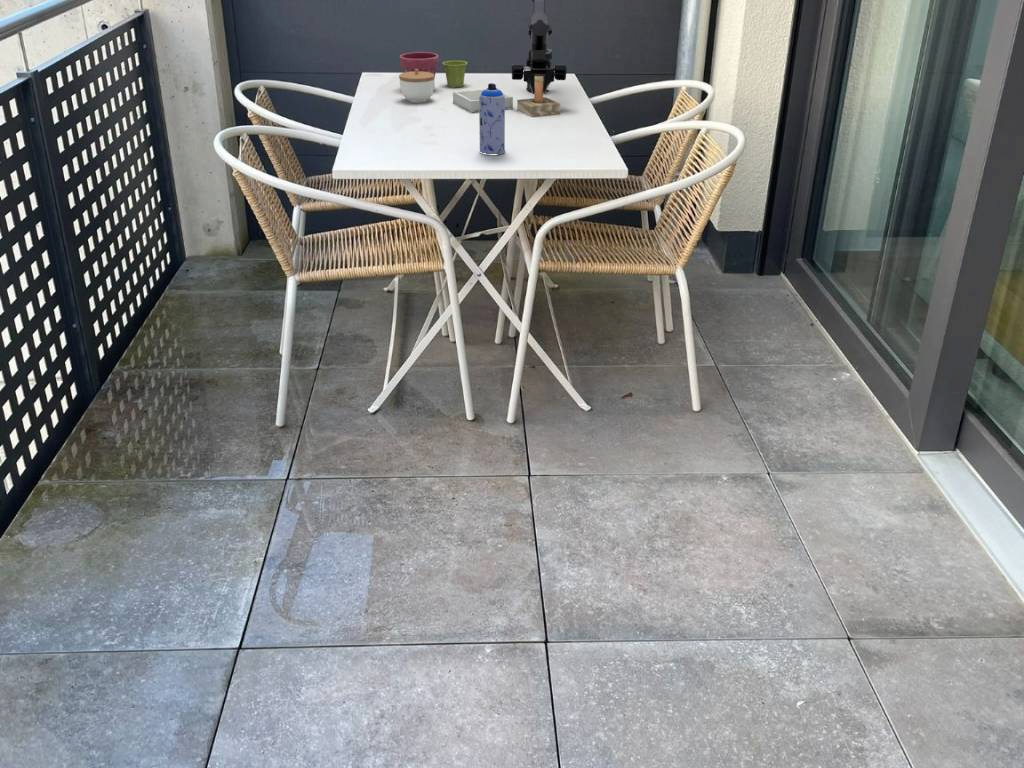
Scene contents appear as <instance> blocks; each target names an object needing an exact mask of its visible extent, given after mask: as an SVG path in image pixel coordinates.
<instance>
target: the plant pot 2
mask: <svg viewBox="0 0 1024 768" xmlns="http://www.w3.org/2000/svg"><path fill="white" fill-rule="evenodd" d="M442 65H443V68H444V72H445V79H446V84H447V86H448V87H449V88H462V87H464V84H465V74H466V68H467V65H468V61H464V60H448V61H443V62H442Z"/></svg>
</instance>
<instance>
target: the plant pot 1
mask: <svg viewBox="0 0 1024 768" xmlns="http://www.w3.org/2000/svg"><path fill="white" fill-rule="evenodd" d="M399 63H400V67H401V68H402V70H403V71H402V72H403V73H405V72H415V69H418V71H421V72H430V73H433V74H434V75H435V76H436V72H437V68H438V67H439V66H440V65H439V63H440V60H439V54H437V53H435V52H429V51H412V52H406V53H402V54H400V55H399ZM435 78H436V77H435ZM435 78H434V80H435Z"/></svg>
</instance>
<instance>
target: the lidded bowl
mask: <svg viewBox="0 0 1024 768" xmlns="http://www.w3.org/2000/svg"><path fill="white" fill-rule="evenodd" d="M398 78H399V86H400V87H399V88H400V91H401V93H402V94H401V95H403V97H404V98H405V99H406V100H407V102H409V103H413V104H422V103H427V102H428V101H429V100H430V98H431V97H432V95H433V93H434V90H435V79H434V78H436V74H435V75H434V74H433V73H430V72H421V71H418V69H415V72H405V73H404V72H403V73H400V74H399V75H398ZM426 101H427V102H426Z"/></svg>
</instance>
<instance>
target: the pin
mask: <svg viewBox="0 0 1024 768" xmlns="http://www.w3.org/2000/svg"><path fill="white" fill-rule="evenodd" d="M543 97H544V92H543V76H535V87H534V94H533V98H534V103H543Z"/></svg>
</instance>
